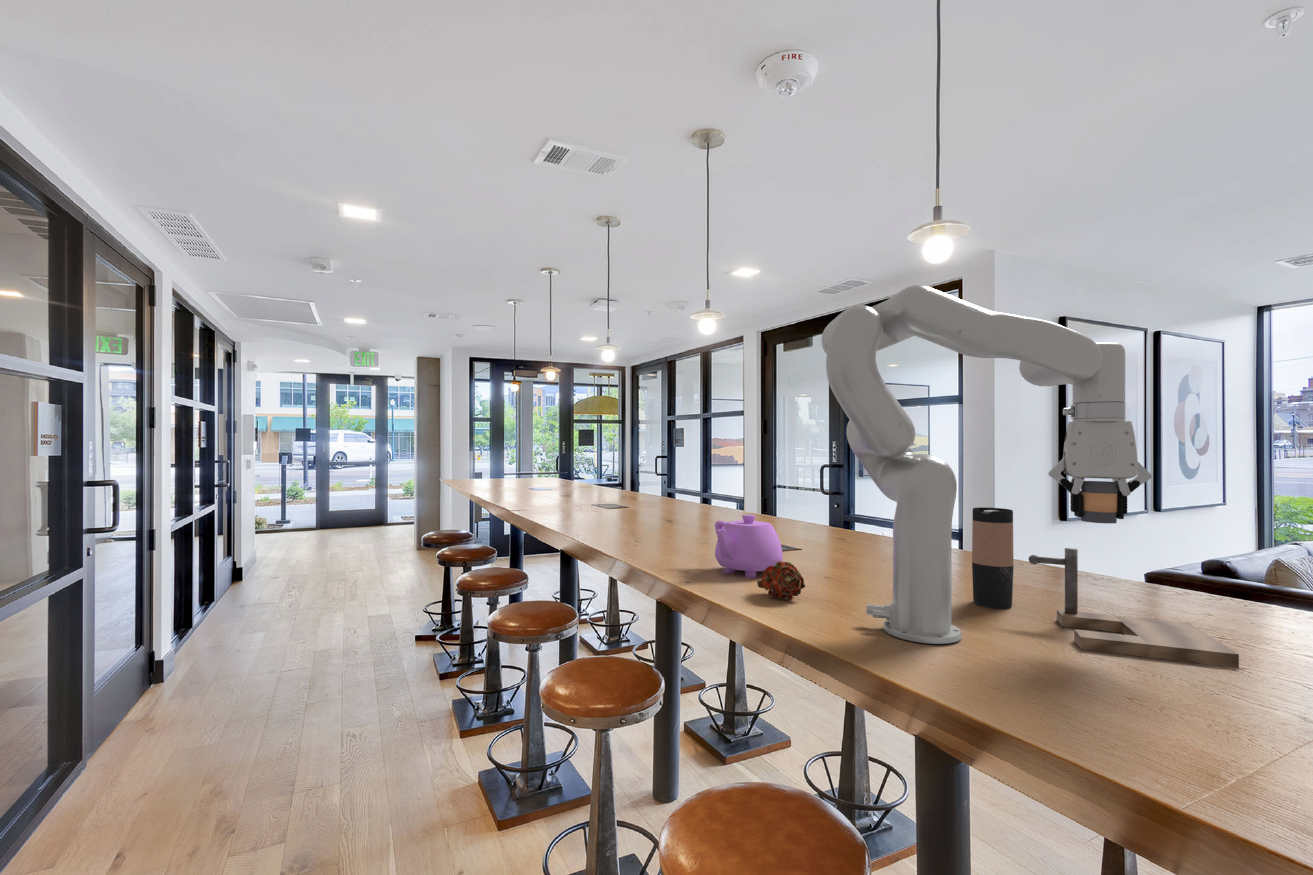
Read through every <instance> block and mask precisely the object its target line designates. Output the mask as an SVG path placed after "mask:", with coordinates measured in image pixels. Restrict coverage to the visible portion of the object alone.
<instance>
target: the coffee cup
mask: <svg viewBox="0 0 1313 875" xmlns="http://www.w3.org/2000/svg"><path fill="white" fill-rule="evenodd" d="M1080 491H1081V494H1082V495H1083V517H1080V522H1081V521H1082V522H1086V523H1093V524H1094V523H1095V524H1117V519H1118V518H1117V482H1113V481H1109V480H1108V481H1107V480H1106V481H1103V480H1084V481H1083V484H1082V487H1081V489H1080Z"/></svg>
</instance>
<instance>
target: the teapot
mask: <svg viewBox="0 0 1313 875" xmlns="http://www.w3.org/2000/svg"><path fill="white" fill-rule="evenodd" d="M741 517H742V520H732V521H731V520H730V521H724V520H717V521H715V524H714V529H715V533H716V537H717V541H716V544H715V549H714V557H715V560H716V561H717V563H718V564H719V566H722V567H723V568H724V570H723V571H722V573H723V574H730V575H731V574H735V571H742V572H743V571H744V578H746V579H756V578H758V575H757V572H761V573H762V572H763V571H764V570H765V569H766V568H767V567H768V566H774V565H775V564H776V563H777V561H780V562H783V558H784V557H783V549H782V543H781V540H780V538H779V535H778V533H777V532H776V529H775V528H774V525H773V524H772V523H770V522H765V521H758V520H755V519H756V515H755V514H742V516H741Z"/></svg>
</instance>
